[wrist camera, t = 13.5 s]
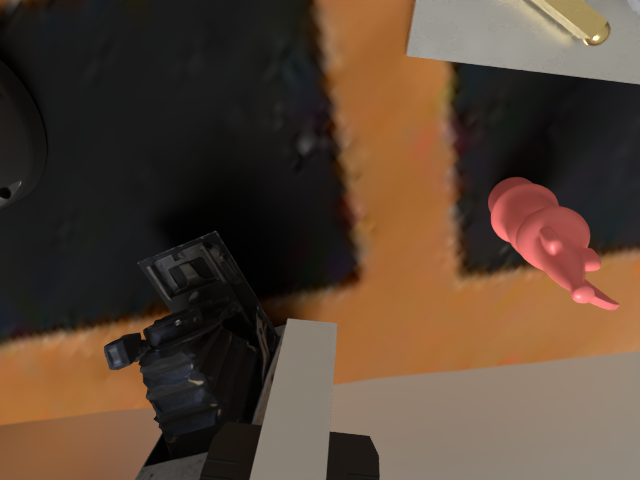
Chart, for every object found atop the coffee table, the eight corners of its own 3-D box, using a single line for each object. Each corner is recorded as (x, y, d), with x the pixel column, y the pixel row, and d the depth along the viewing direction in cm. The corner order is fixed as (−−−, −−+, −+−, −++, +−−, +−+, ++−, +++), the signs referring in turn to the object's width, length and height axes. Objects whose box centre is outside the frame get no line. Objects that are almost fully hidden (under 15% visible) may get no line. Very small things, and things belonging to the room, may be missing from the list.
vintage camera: (237, 211, 42) (120, 345, 24) (308, 344, 46) (256, 538, 28) (153, 245, 44) (-10, 388, 26) (228, 367, 49) (134, 558, 31)
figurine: (561, 187, 37) (667, 282, 24) (521, 237, 39) (597, 350, 26) (507, 158, 36) (585, 238, 23) (469, 210, 39) (520, 311, 25)
